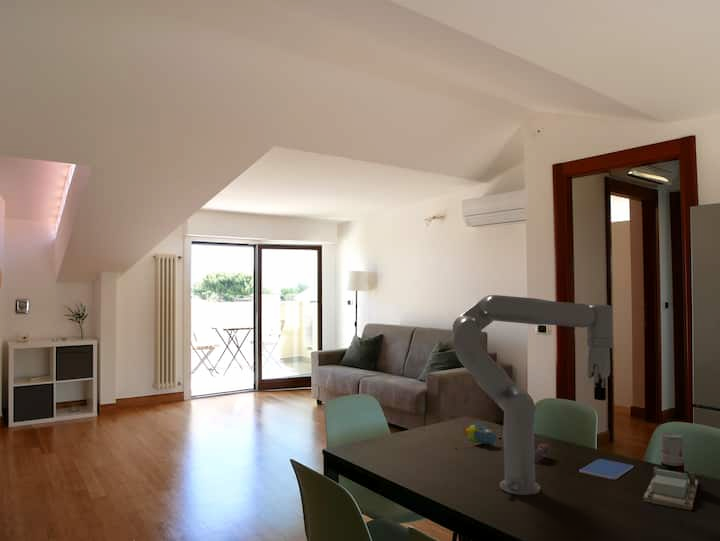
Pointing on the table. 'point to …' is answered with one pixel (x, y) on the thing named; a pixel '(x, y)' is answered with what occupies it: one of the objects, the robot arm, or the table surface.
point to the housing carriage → (670, 483)
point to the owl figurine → (480, 434)
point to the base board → (672, 500)
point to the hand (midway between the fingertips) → (600, 399)
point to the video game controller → (541, 452)
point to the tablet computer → (606, 469)
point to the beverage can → (672, 452)
